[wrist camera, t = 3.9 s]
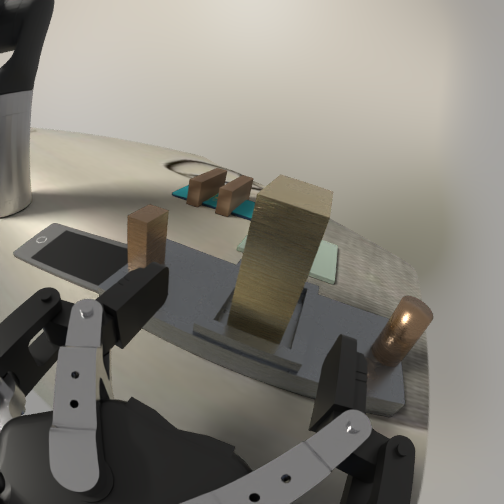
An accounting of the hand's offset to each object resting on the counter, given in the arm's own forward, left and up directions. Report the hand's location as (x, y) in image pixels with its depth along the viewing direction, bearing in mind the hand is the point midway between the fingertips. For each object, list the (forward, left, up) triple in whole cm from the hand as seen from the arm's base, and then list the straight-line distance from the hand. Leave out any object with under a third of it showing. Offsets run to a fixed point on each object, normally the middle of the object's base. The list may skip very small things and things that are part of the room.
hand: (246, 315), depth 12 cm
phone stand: (-14, +32, -8) cm, 36 cm away
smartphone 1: (-20, +7, -9) cm, 23 cm away
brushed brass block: (0, +8, -6) cm, 10 cm away
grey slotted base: (0, +8, -8) cm, 12 cm away
